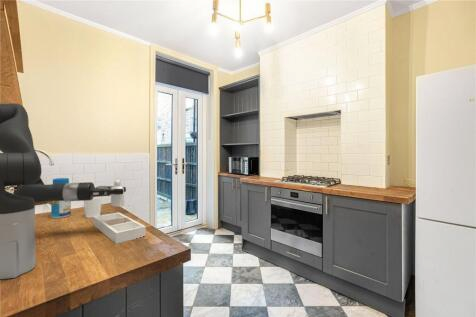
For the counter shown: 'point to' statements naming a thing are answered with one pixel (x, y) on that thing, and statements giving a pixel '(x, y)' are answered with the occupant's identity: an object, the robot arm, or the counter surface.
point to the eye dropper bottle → (117, 195)
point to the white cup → (92, 207)
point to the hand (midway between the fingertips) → (124, 190)
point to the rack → (119, 227)
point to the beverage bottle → (60, 203)
